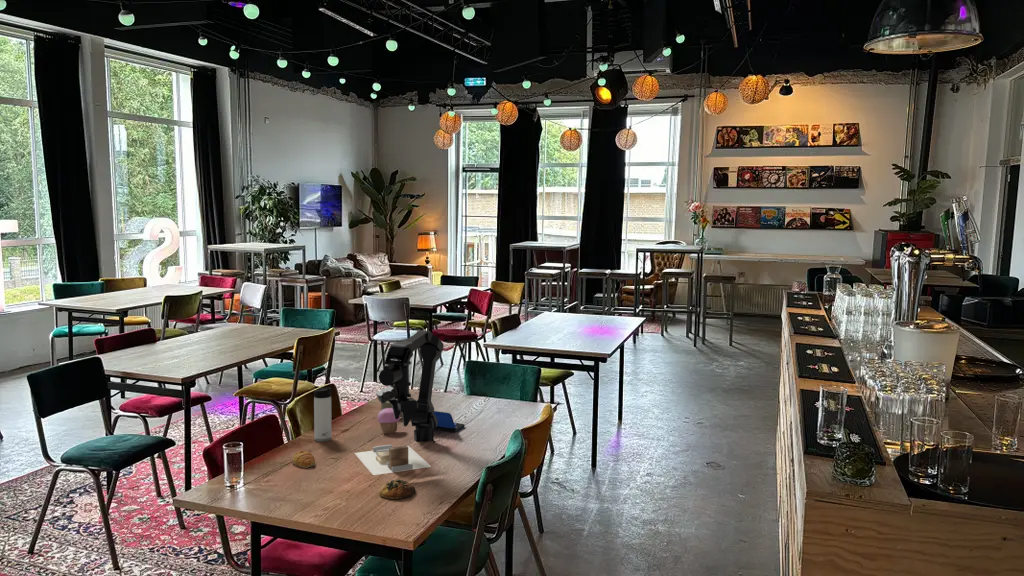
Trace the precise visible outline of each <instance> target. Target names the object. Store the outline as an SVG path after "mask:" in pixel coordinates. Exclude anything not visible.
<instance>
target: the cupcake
mask: <svg viewBox="0 0 1024 576" xmlns="http://www.w3.org/2000/svg"><path fill="white" fill-rule="evenodd" d="M376 418H377V421H378V423H379V424H380V425H379V426H380V429H381V431H382V433H383V434H384V435H385V434H388V435H391V434H395V433H396V432H397V430H398V422H399V421H400V420H401V418H400V416H399V419H395V416H394V412H393V409H392V408H386V409H383V410H382V411H381V410H380V411H379V412H378V414H377V417H376Z"/></svg>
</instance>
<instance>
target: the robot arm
mask: <svg viewBox="0 0 1024 576" xmlns="http://www.w3.org/2000/svg"><path fill="white" fill-rule="evenodd" d="M444 346H445V345H444V342H443V341H442V340H441V338H440V337H438V336H436V335H435V334H433V333H432V332H431V331H430V330H424V329H422V330H417V331H416V332H415V333H414V334H413V335H411V336H409V338H407V339H405V340H404V341H397V342H392V344H391V345H390V346H389V347H388V351H387V353H386V357H385V360H384V366H383V369H382V370H381V371H380V372H379V374H378V381H379V382H380V384H381V385H383V386H385V387H384V388H382V389H380V390H378V391H376V392H375V394H376V397H377V400H378V402H380V404H381V403H385V402H386V401H388V402H390V403H391V405H392V409H393V412H394V416H395V419H399V416H400V412H402V418H401V419H402V424H403V427H408V425H409V423H410V422H411V426H412V427H415V429H414V431H413V439H414V441H415V442H417V443H418V442H421V443H423V442H425V443H427V442H431V441H432V442H433V443H434V444H435V443H436V441H435V440H434V439H435V437H434V436H435V434H434V433H435V430H434V428H436V427H437V424H438V419H437V417H436V416H435V414H434V411H435V408H434V405H433V402H432V396H433V386H434V381H435V373H436V372H435V371H436V366H437V365H436V364H437V362H438V361H439V359H440V358H441V357H442V354H443V351H444V348H445V347H444ZM418 349H420V351H419V352H420V353H419V354H420V356H421V358H422V361H423V362H422V369H421V377H420V383H419V390H418V398H417V400H416V399H414V398H413V397H412V393H410V386H412V383H411V381H410V365H412V362H411V361H410V360H412V357H414V352H415V351H417V350H418Z"/></svg>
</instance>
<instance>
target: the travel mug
mask: <svg viewBox="0 0 1024 576" xmlns="http://www.w3.org/2000/svg"><path fill="white" fill-rule="evenodd" d="M332 389H333V388H332V387H320V388H319V387H318V388H316V390H314V392H313V395H314V396H313V409H314V410H313V414H314V415H313V416H314V417H313V422H314V430H313V432H314V433H313V434H314V435H313V436H314V441H315V442H318V443H319V442H320V443H326V442H329V441H331V440H332ZM325 441H326V442H325Z"/></svg>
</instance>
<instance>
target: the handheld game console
mask: <svg viewBox="0 0 1024 576" xmlns="http://www.w3.org/2000/svg"><path fill="white" fill-rule="evenodd" d="M434 414H435V416H436V417H437V419H438V424H437V427H436V428H434V429H439V430H438V431H441V430H442V431H441V432H446V431H447V433H452V432H453V434H455V432H456V433H457V432H458V431H460V430H462V429H464V428H465V424H464V423H460V422H454V419H453V416H452V414H451V413H450V412H444V411H437V410H436V411H435V410H434Z"/></svg>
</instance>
